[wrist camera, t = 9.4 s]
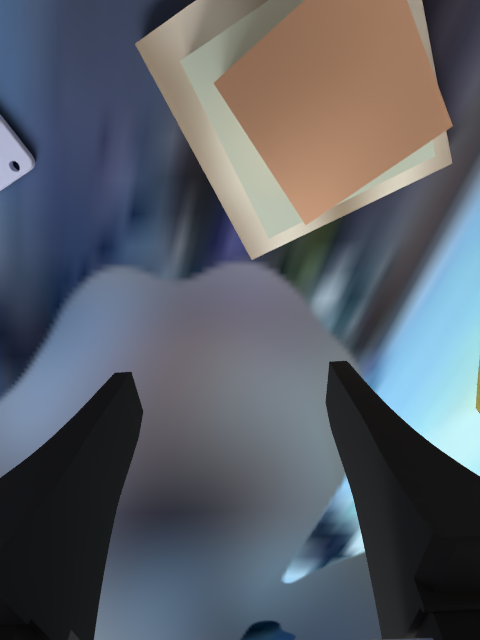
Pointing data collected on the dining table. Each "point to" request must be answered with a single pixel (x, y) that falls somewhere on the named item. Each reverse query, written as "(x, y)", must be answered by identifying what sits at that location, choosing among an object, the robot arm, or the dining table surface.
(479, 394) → the cereal box
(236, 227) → the ash base slab
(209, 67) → the sage green slab
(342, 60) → the terracotta cube
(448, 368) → the dining table surface
